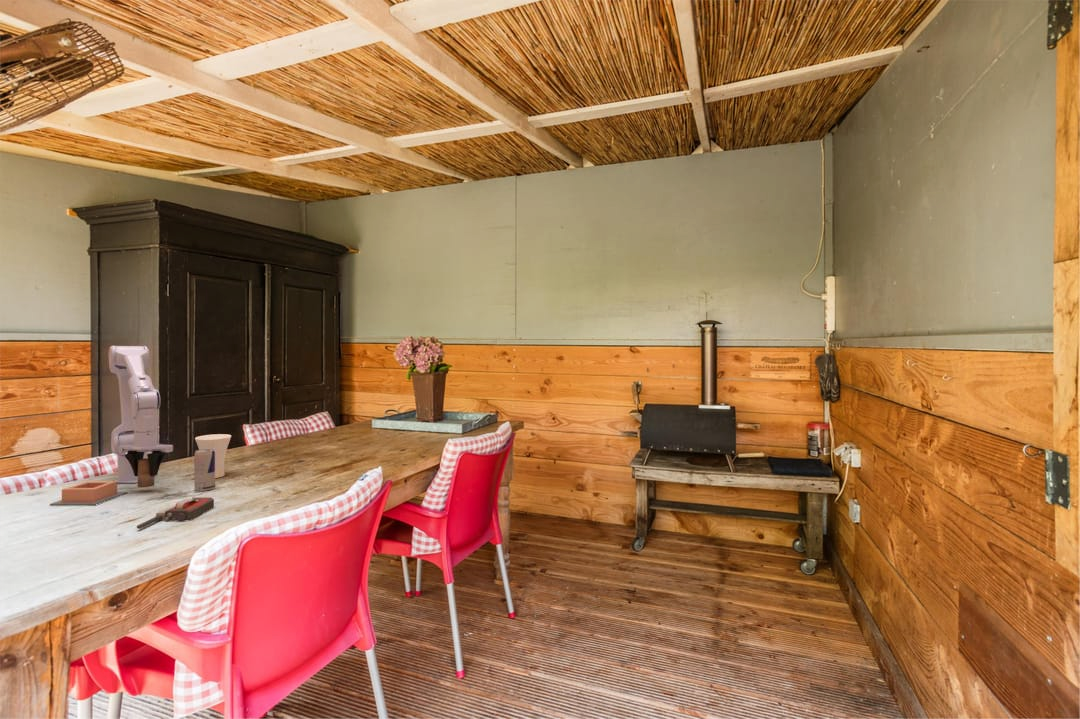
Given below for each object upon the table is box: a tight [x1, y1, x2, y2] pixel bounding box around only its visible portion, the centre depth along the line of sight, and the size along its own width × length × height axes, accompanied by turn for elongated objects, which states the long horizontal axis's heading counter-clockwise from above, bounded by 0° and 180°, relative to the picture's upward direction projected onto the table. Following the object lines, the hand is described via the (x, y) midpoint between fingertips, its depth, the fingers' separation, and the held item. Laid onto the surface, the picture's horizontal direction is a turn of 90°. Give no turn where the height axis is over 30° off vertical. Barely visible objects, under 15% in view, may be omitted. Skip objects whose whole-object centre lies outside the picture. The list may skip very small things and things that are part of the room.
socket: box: [49, 480, 128, 506], centre depth 149 cm, size 12×12×4 cm
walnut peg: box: [137, 458, 155, 488], centre depth 158 cm, size 4×4×8 cm
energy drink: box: [193, 449, 216, 492], centre depth 161 cm, size 5×5×12 cm
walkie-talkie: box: [136, 496, 215, 530], centre depth 135 cm, size 9×4×20 cm
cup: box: [194, 433, 232, 479], centre depth 176 cm, size 10×10×14 cm
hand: (146, 475), depth 158 cm, fingers closed on walnut peg, 4 cm apart
